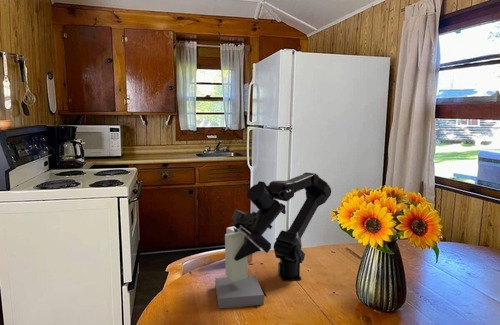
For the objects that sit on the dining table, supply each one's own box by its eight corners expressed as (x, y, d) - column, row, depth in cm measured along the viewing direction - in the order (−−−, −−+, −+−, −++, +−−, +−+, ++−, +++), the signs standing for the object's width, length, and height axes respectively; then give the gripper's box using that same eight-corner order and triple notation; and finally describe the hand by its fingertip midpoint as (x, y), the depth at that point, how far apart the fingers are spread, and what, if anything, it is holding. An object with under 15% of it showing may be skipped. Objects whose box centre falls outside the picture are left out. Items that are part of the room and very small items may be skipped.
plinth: (255, 284, 114) (255, 275, 113) (263, 304, 101) (263, 294, 100) (215, 287, 111) (215, 278, 111) (218, 308, 99) (218, 298, 98)
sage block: (240, 271, 109) (239, 231, 108) (247, 278, 105) (247, 236, 103) (225, 275, 107) (224, 234, 105) (232, 281, 102) (231, 239, 101)
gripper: (236, 194, 113) (204, 231, 110) (261, 207, 96) (223, 252, 93) (258, 214, 117) (228, 251, 114) (286, 231, 100) (251, 274, 97)
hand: (232, 256), depth 104 cm, fingers closed on sage block, 5 cm apart
